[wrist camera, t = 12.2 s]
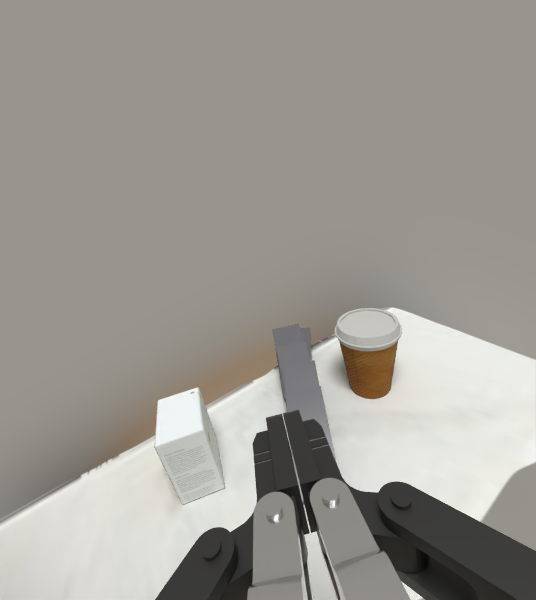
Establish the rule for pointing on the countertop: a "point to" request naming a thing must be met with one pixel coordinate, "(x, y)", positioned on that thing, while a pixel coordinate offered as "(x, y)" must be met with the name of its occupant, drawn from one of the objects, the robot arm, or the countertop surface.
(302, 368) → the domino
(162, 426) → the small box
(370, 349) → the disposable coffee cup
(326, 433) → the domino
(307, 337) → the domino
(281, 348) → the domino
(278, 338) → the domino
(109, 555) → the countertop surface
